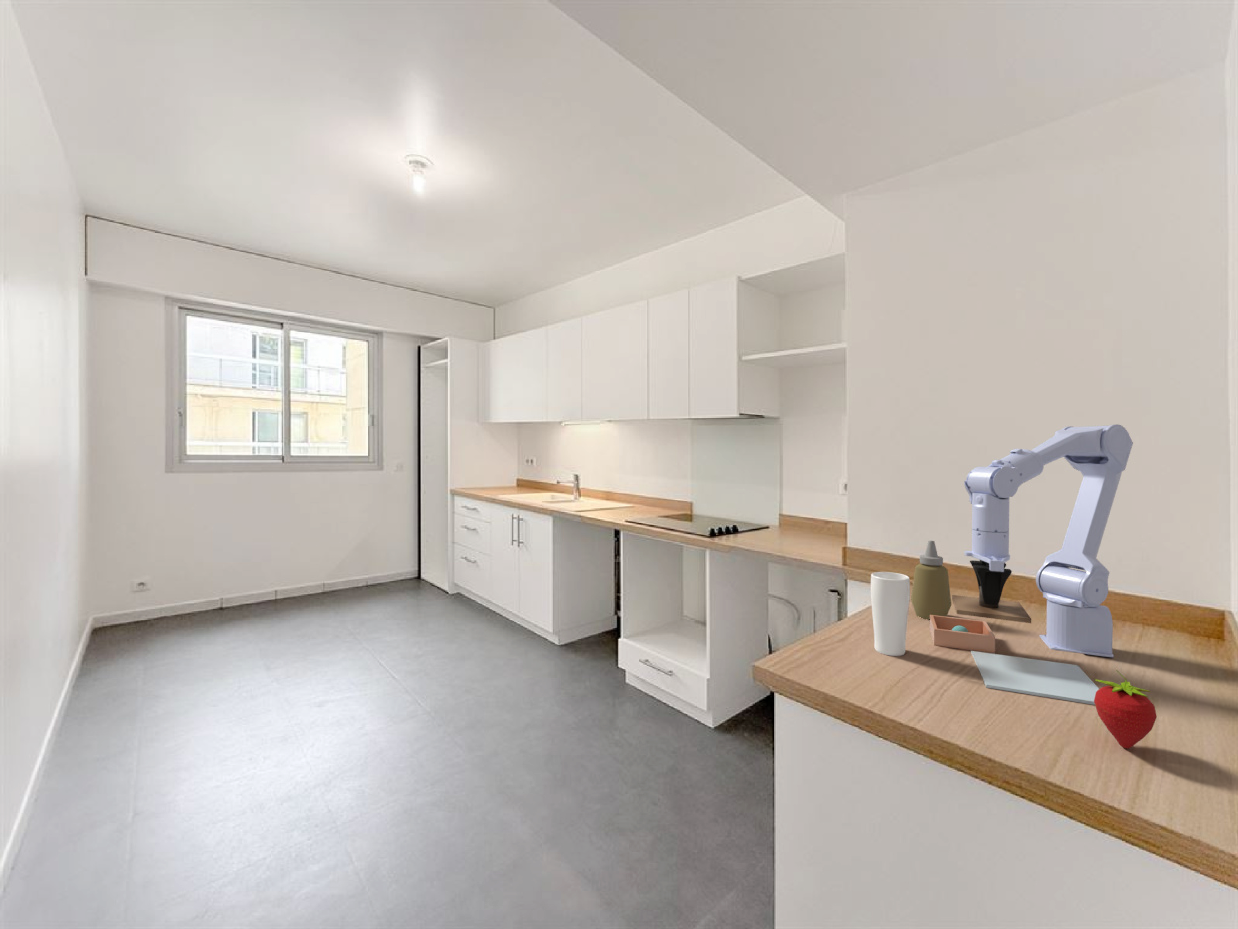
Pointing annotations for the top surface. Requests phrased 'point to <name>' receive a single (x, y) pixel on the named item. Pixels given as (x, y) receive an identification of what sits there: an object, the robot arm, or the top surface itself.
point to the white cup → (890, 611)
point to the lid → (990, 608)
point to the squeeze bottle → (931, 585)
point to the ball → (960, 629)
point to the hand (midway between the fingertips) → (989, 601)
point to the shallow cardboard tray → (962, 634)
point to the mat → (1035, 677)
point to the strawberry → (1125, 711)
